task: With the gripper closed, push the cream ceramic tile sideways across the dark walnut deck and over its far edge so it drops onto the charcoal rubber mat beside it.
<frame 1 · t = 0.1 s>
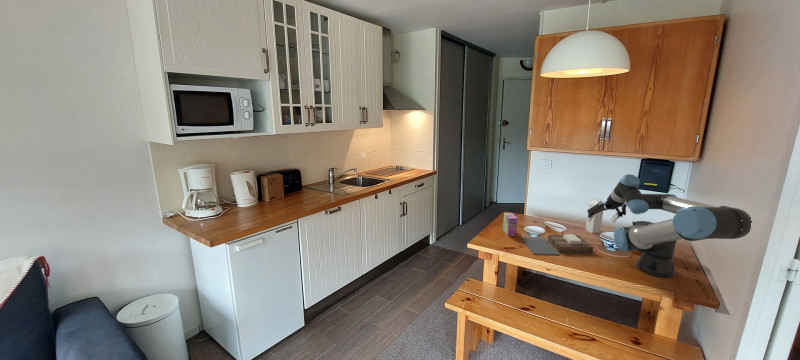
hand: (600, 220, 189), 15 cm above the table, tool tilted 35°, fingers open, 13 cm apart
mat: (539, 246, 191), on the table
beer stein: (646, 252, 184), on the table
box: (509, 233, 211), on the table
milk: (592, 231, 213), on the table
tile: (571, 240, 189), point 4 cm above the table, touching deck
deck: (569, 247, 190), on the table
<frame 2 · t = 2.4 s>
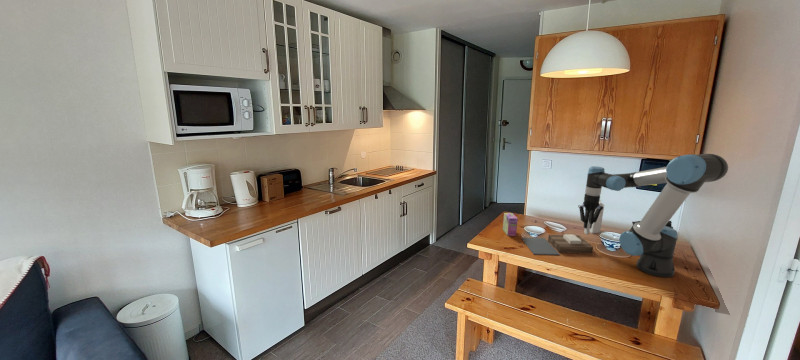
hand: (586, 233, 188), 9 cm above the table, tool pointing down, fingers closed
nothing on the table moved.
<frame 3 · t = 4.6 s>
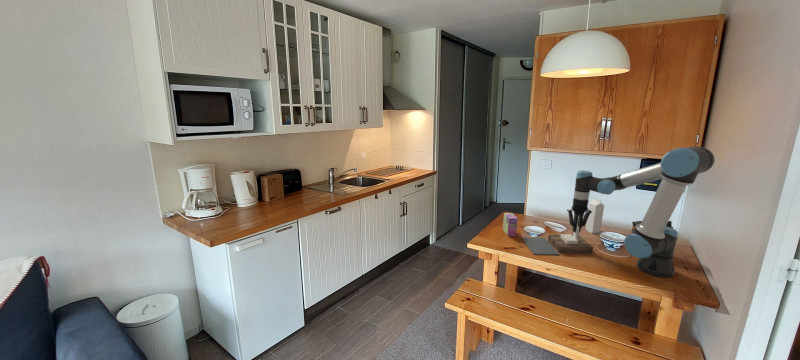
hand: (575, 237, 189), 6 cm above the table, tool pointing down, fingers closed
tile: (568, 240, 189), point 4 cm above the table, touching deck, gripper
everything else where it was.
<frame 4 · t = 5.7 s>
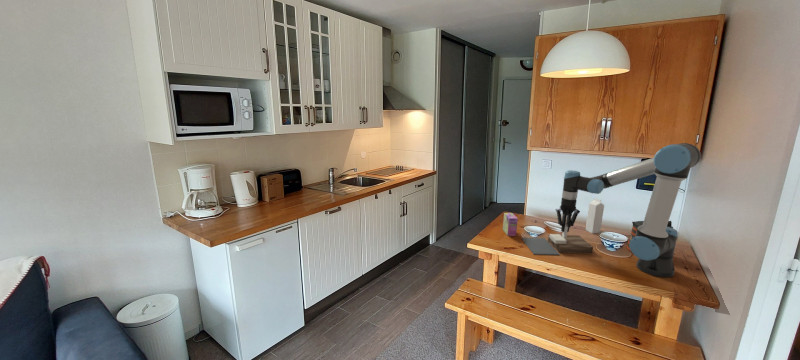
hand: (564, 236, 189), 6 cm above the table, tool pointing down, fingers closed
tile: (557, 240, 190), point 4 cm above the table, touching deck
everything else where it was.
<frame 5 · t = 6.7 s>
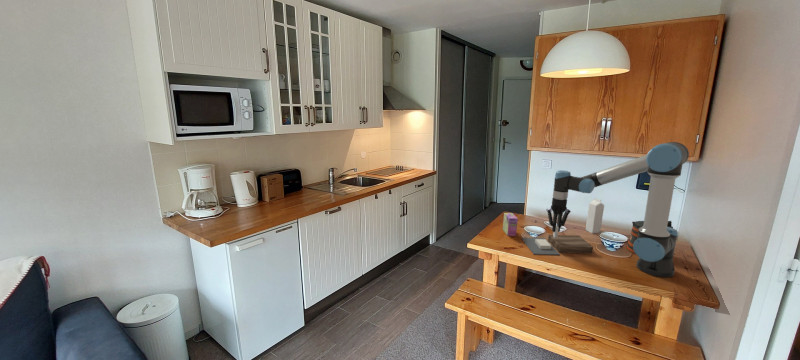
hand: (555, 236, 189), 6 cm above the table, tool pointing down, fingers closed
tile: (543, 242, 190), point 3 cm above the table, tilted 180°, touching mat
everything else where it was.
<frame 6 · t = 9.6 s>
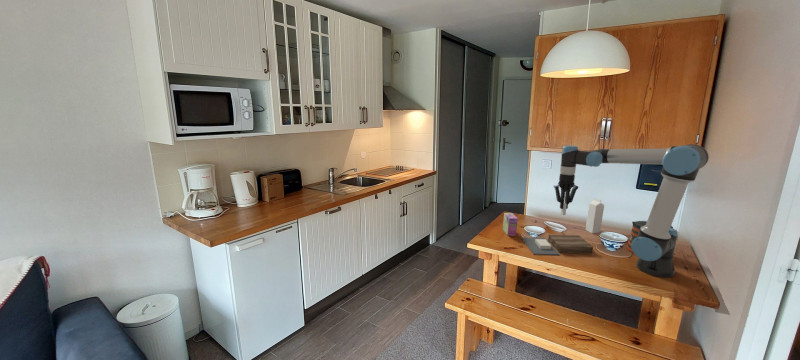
hand: (563, 214, 186), 20 cm above the table, tool pointing down, fingers closed
nothing on the table moved.
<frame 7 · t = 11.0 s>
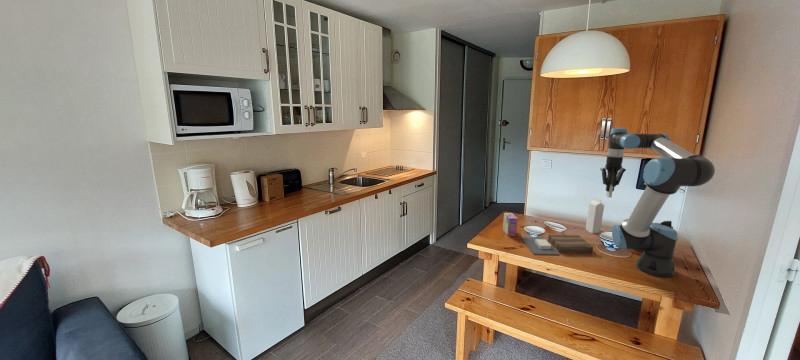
hand: (608, 196, 187), 29 cm above the table, tool pointing down, fingers closed
nothing on the table moved.
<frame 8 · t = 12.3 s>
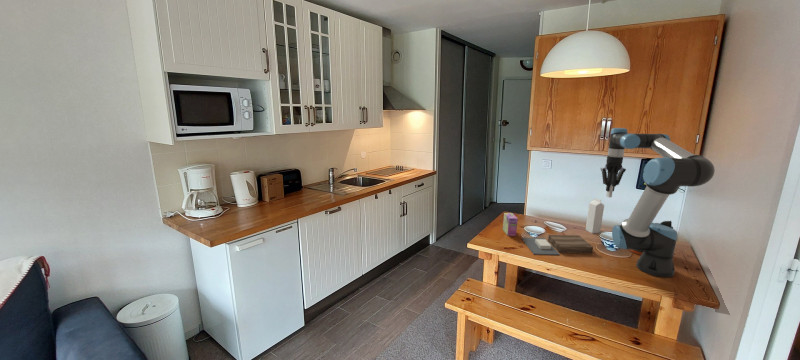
hand: (608, 196, 187), 29 cm above the table, tool pointing down, fingers closed
nothing on the table moved.
at the end: tile point 2.6 cm above the table; tile inside the target area (2.3 cm from its centre), point 2.6 cm above the table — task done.
